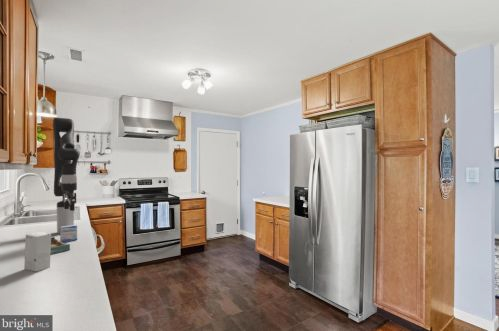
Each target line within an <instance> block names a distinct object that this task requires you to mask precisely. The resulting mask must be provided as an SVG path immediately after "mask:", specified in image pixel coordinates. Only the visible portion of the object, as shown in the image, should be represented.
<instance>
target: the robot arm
mask: <svg viewBox="0 0 499 331" xmlns="http://www.w3.org/2000/svg"><path fill="white" fill-rule="evenodd" d="M52 128H53V129H52V130H53V139H54V140H53V141H54V143H53V144H54V146H53V147H54V148H53V163H54V164H53V167H54V178H53V180H54V181H53V194H54V196H55V197H62V200H61V201H57V203H56V234H57V235H60V227H62V226H70V225H75V219H74V218H75V215H74V214H75V212H74V211H75V210H76V209H75V205H76V204H77V192H75V191H77V189H78V186H77V185H78V182H77V181H78V178H77V166H78V165H77V164H78V161H79V158H80V150H79V149H78V148H76V147H75V146H76V145H75V141H74V137H75V124H74V120H73V119H72V118H67V117H66V118H65V117H54V118H53V121H52ZM61 133H64V134H63V135H62V136H61Z"/></svg>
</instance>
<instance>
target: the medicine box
mask: <svg viewBox="0 0 499 331" xmlns="http://www.w3.org/2000/svg"><path fill="white" fill-rule="evenodd" d="M59 238H60V240H59V241H60V242H63V243H66V242H67V241H68V242H74V241H77V240H78V225H77V224H74V225H70V226H62V227H60V234H59ZM68 242H67V243H68Z"/></svg>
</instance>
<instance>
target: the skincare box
mask: <svg viewBox="0 0 499 331" xmlns="http://www.w3.org/2000/svg"><path fill="white" fill-rule="evenodd" d="M51 237H52V233H48V232H43V231H37V232H32V233H26V234H25V242H24V243H25V246H24V247H25V248H24V263H23V264H24V266H23V268H24V270H27V271H32V272H40V271H42V270H46V269H48V268H51V254H50V253H51Z"/></svg>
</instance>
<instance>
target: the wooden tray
mask: <svg viewBox="0 0 499 331" xmlns="http://www.w3.org/2000/svg"><path fill="white" fill-rule="evenodd" d="M70 250H71V244H70V243H68V244H67V243H66V242H61V241H60V240H58V239H56V237H53V236H51V253H50V255H54V254H55V255H56V254H58V253H63V252H68V251H70Z"/></svg>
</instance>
